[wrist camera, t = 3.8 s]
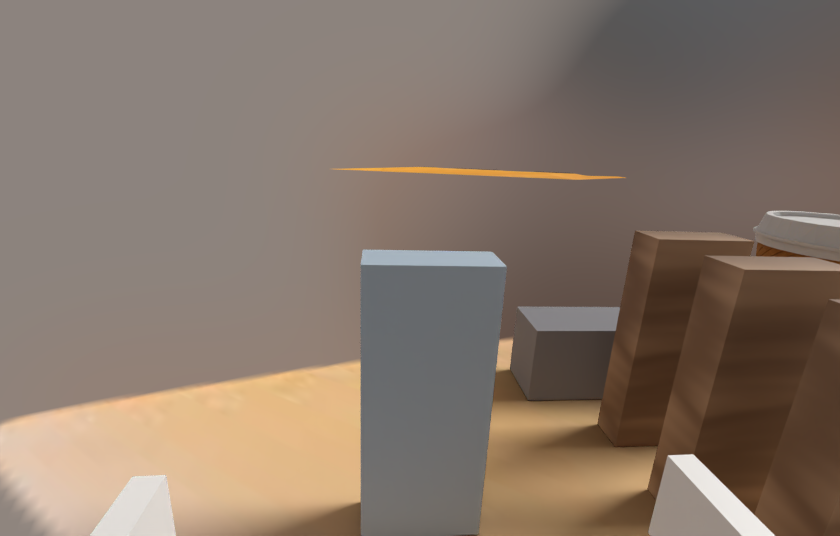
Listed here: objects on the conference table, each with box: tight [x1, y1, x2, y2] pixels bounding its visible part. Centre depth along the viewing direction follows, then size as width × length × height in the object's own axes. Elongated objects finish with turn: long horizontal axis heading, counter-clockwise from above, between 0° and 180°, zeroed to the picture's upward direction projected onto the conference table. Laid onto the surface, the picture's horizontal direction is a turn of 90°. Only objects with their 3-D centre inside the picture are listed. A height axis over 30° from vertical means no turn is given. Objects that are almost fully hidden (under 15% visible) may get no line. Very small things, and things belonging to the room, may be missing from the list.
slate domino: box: [361, 250, 507, 536], centre depth 17 cm, size 2×5×12 cm, turn 95°
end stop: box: [510, 307, 620, 400], centre depth 29 cm, size 4×12×5 cm, turn 95°
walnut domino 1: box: [598, 231, 754, 447], centre depth 23 cm, size 2×5×12 cm, turn 95°
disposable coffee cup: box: [753, 211, 840, 264], centre depth 31 cm, size 10×10×12 cm
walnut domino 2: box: [648, 255, 840, 514], centre depth 18 cm, size 2×5×12 cm, turn 95°
